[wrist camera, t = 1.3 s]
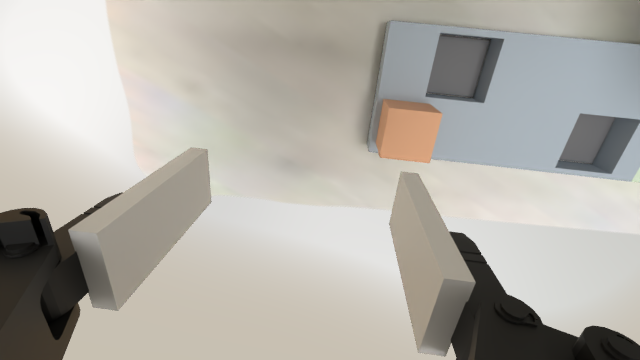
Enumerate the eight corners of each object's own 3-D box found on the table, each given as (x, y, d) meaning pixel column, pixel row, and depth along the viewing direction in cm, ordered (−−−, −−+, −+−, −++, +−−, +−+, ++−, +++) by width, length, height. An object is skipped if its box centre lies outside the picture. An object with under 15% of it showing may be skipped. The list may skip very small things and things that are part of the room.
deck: (367, 143, 31) (370, 161, 26) (387, 22, 26) (395, 18, 21) (672, 178, 29) (731, 202, 25) (751, 57, 25) (841, 61, 20)
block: (375, 142, 28) (379, 157, 24) (383, 98, 26) (389, 107, 23) (418, 147, 28) (429, 163, 24) (429, 103, 26) (442, 113, 22)
